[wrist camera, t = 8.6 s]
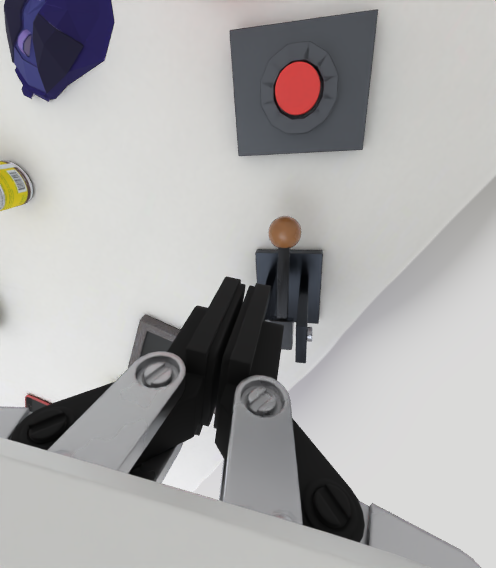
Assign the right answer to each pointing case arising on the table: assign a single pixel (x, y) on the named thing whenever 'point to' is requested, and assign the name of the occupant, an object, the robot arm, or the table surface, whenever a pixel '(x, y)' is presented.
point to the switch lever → (284, 271)
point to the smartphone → (34, 403)
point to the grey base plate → (332, 73)
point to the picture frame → (152, 338)
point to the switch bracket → (294, 290)
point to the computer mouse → (56, 41)
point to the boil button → (297, 88)
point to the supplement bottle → (13, 186)
